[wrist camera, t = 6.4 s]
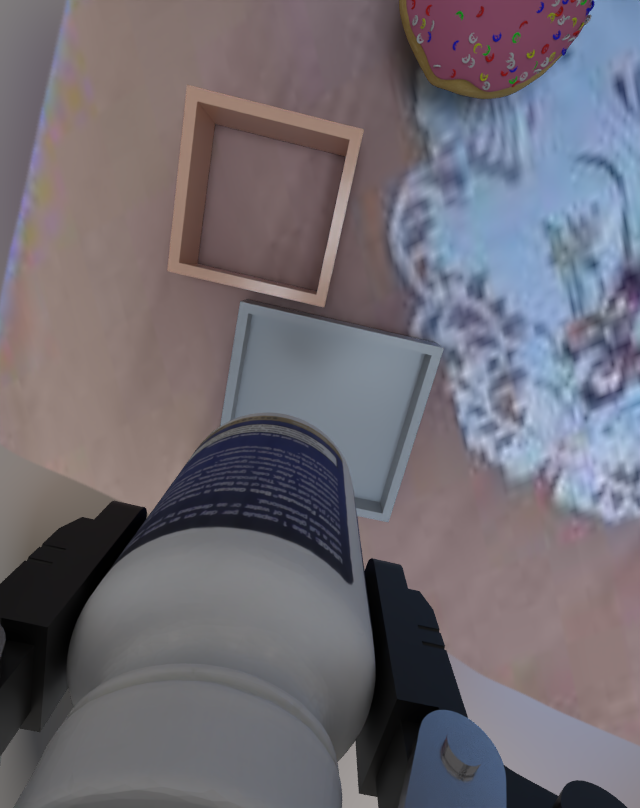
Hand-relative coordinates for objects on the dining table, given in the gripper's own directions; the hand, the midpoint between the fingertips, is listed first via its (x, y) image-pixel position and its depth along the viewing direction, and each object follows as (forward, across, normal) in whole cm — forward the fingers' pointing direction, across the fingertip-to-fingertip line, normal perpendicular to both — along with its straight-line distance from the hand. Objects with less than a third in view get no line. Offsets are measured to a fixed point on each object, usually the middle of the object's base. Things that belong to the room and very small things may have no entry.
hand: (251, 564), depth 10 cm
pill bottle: (+4, 0, 0) cm, 4 cm away
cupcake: (+20, -4, -21) cm, 29 cm away
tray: (+20, -2, +2) cm, 20 cm away
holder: (+20, +4, -10) cm, 23 cm away
